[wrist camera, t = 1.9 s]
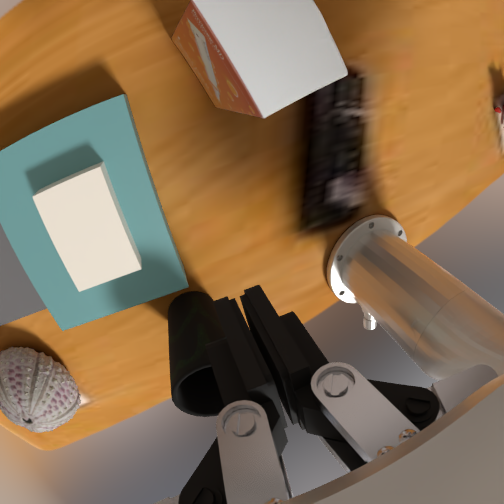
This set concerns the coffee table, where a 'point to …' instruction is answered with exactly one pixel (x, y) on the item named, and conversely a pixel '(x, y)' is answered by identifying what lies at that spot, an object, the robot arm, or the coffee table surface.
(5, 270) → the mat
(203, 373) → the cup
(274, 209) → the coffee table surface
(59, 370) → the sea urchin shell
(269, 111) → the small box
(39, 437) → the coffee table surface
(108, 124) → the plate
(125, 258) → the off-white foam block
